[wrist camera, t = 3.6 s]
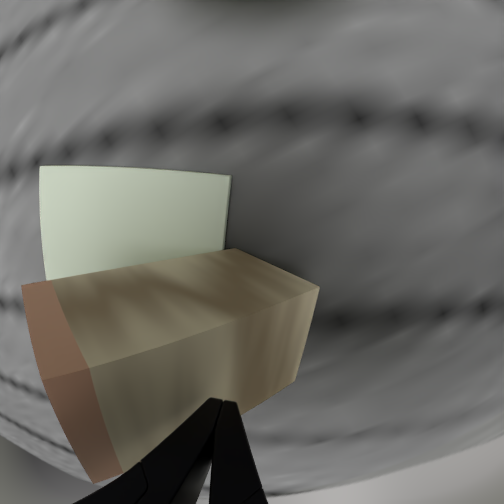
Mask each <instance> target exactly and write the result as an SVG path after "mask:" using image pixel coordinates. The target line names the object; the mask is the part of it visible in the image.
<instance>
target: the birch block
mask: <svg viewBox="0 0 504 504" xmlns="http://www.w3.org/2000/svg"><path fill="white" fill-rule="evenodd" d="M21 287H22V294H23V301H24V307H25V313H26V318H27V323H28V328H29V333H30V338H31V342H32V346H33V350H34V354H35V358H36V362H37V366H38V369H39V373H40V376H41V379H42V382H43V385H44V387H45V390H46V393H47V395H48V397H49V400H50V402H51V405H52V407H53V409H54V411H55V414H56V416H57V418H58V420H59V422H60V425H61V427H62V429H63V431H64V433H65V435H66V437H67V439H68V441H69V443H70V445H71V446H72V448H73V450H74V452H75V454H76V456H77V457H78V459H79V461H80V463H81V464H82V466H83V468H84V469H85V471H86V473H87V474H88V476H89V478H90V479H91V481H92V482H93V484H95V483H97V482H100V481H103V480H106V479H109V478H111V477H114V476H117V475H119V474H122V473H125V472H126V471H128V470H129V469H130V468H132V467H133V466H134V465H135V464H136V463H137V462H140V460H141V459H142V458H144V457H145V456H146V455H147V454H148V453H149V452H150V451H152V450H153V449H154V448H155V447H156V446H157V445H158V444H160V443H161V442H162V441H163V440H164V439H165V438H166V437H167V436H169V435H170V434H171V433H172V432H173V431H174V430H175V429H176V428H177V427H179V426H180V425H181V424H182V423H183V422H184V421H185V420H186V419H187V418H188V417H189V416H190V415H191V414H193V413H194V412H195V411H196V410H197V409H198V408H199V407H200V406H201V405H202V404H203V403H204V402H205V401H206V400H207V399H208V398H210V397H213V398H219V399H222V400H223V401H224V400H229V401H235V402H237V404H238V408H239V411H240V415H242V414H244V413H246V412H247V411H249V410H251V409H252V408H254V407H255V406H257V405H259V404H260V403H262V402H263V401H265V400H267V399H268V398H270V397H271V396H273V395H274V394H276V393H277V392H279V391H281V390H282V389H284V388H285V387H287V386H288V385H289V384H291V383H292V382H294V381H295V378H296V375H297V372H298V368H299V365H300V361H301V358H302V354H303V351H304V347H305V343H306V340H307V336H308V332H309V329H310V325H311V321H312V317H313V313H314V309H315V305H316V301H317V297H318V293H319V288H320V287H319V286H317V285H315V284H313V283H311V282H308V281H306V280H304V279H302V278H300V277H297V276H295V275H293V274H291V273H289V272H287V271H284V270H282V269H280V268H278V267H276V266H273V265H271V264H269V263H267V262H265V261H263V260H260V259H258V258H256V257H254V256H252V255H249V254H247V253H245V252H243V251H241V250H239V249H236V248H233V249H227V250H221V251H215V252H209V253H203V254H197V255H191V256H185V257H180V258H174V259H168V260H162V261H156V262H150V263H145V264H139V265H133V266H127V267H122V268H116V269H110V270H104V271H99V272H93V273H87V274H82V275H76V276H70V277H65V278H59V279H54V280H48V281H42V282H37V283H31V284H26V285H21Z"/></svg>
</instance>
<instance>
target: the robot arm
mask: <svg viewBox="0 0 504 504" xmlns="http://www.w3.org/2000/svg"><path fill="white" fill-rule="evenodd" d="M211 463H212V466H211ZM210 466H211V480H210V494H209V504H268V502H267V499H266V496H265V493H264V490H263V489H262V484H261V481H260V478H259V475H258V472H257V469H256V465H255V462H254V459H253V456H252V452H251V449H250V446H249V442H248V439H247V436H246V432H245V429H244V425H243V422H242V418H241V415H240V411H239V408H238V404H237V402H235V401H229V400H224V401H223V400H222V399H219V398H213V397H210V398H208V399H207V400H206V401H205V402H204V403H203V404H202V405H201V406H200V407H199V408H198V409H197V410H196V411H195V412H194V413H193V414H191V415H190V416H189V417H188V418H187V419H186V420H185V421H184V422H183V423H182V424H181V425H180V426H179V427H177V428H176V429H175V430H174V431H173V432H172V433H171V434H170V435H169V436H167V437H166V438H165V439H164V440H163V441H162V442H161V443H160V444H158V445H157V446H156V447H155V448H154V449H153V450H152V451H150V452H149V453H148V454H147V455H146V456H145V457H144V458H142V459H141V460H140V462H137V463H136V464H135V465H134V466H133V467H132V468H130V469H129V470H128V471H126V472H125V473H124V474H122V475H121V476H120V477H118V478H117V479H115V480H114V481H112V482H111V483H109V484H107V485H106V486H104V487H102V488H101V489H99V490H97V491H95V492H94V493H92V494H90V495H88V496H86V497H85V498H83V499H81V500H79V501H77V502H75V503H73V504H196V502H197V499H198V497H199V494H200V492H201V489H202V487H203V484H204V482H205V479H206V476H207V474H208V471H209V469H210Z"/></svg>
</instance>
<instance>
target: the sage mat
mask: <svg viewBox="0 0 504 504" xmlns="http://www.w3.org/2000/svg"><path fill="white" fill-rule="evenodd" d="M231 179H232V176H231V175H222V174H212V173H202V172H191V171H180V170H167V169H153V168H136V167H114V166H73V165H48V166H40V181H39V192H40V222H41V237H42V248H43V258H44V266H45V273H46V280H47V281H48V280H54V279H59V278H65V277H70V276H76V275H82V274H87V273H93V272H99V271H104V270H110V269H116V268H122V267H127V266H133V265H139V264H145V263H150V262H156V261H162V260H168V259H174V258H180V257H185V256H191V255H197V254H203V253H209V252H215V251H221V250H224V246H225V236H226V226H227V216H228V206H229V197H230V188H231Z"/></svg>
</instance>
